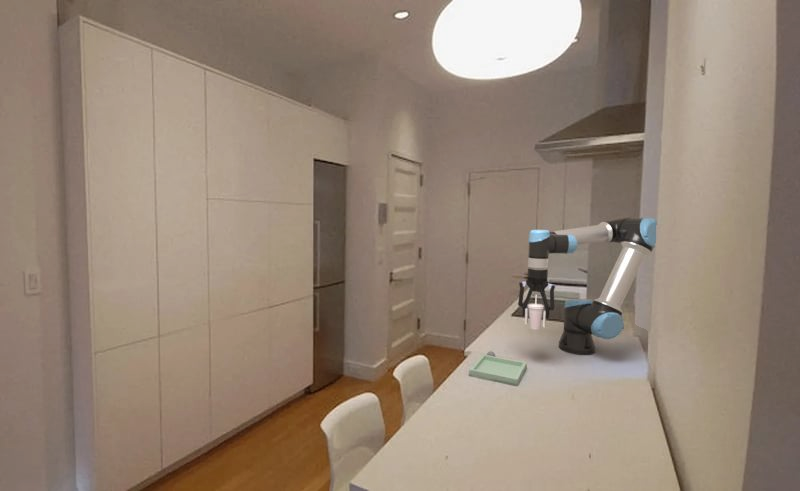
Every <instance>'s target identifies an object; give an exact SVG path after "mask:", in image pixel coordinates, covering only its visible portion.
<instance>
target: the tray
mask: <svg viewBox="0 0 800 491" xmlns="http://www.w3.org/2000/svg"><path fill="white" fill-rule="evenodd" d="M527 364H528V362H527V361H521V360H515V359H510V358H504V357H499V356H495V357H494V356H489V355H487V354H481V356H479V358H478V359H477V360H476V361H475V362H474V364H472V366H471V367H470V368H469V369H468V376H469V377H473V378H478V379H481V380H486V381H491V382H496V383H501V384H504V385H509V386H514V387H518V386H519V384H520V381H521V380H522V378H523V376H524V374H525V373H526V370H527V369H528V368H527V367H528V365H527Z"/></svg>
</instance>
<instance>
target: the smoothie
mask: <svg viewBox="0 0 800 491" xmlns="http://www.w3.org/2000/svg"><path fill="white" fill-rule="evenodd" d="M534 299H535V300H534V302H532V303H528V304H527V307H528V308H529V310H528V320H529V328H530V330H534V331H535V330H536V331H538V330H539V331H540V330H541V325H542V321H543V312H544V310H545V306H544V304H542V303H537V302H538V300H537V299H538V295H537V294H535V298H534Z"/></svg>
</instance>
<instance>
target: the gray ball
mask: <svg viewBox="0 0 800 491" xmlns="http://www.w3.org/2000/svg"><path fill="white" fill-rule="evenodd" d="M486 355H489V356H494V357H496V354H495V352H494V351H492V350H490V351H488V352H487V353H486Z"/></svg>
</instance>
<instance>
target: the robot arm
mask: <svg viewBox="0 0 800 491" xmlns="http://www.w3.org/2000/svg"><path fill="white" fill-rule="evenodd" d="M657 220H658V219H656V218H650V217H622V218H617V219H612V220H608V221H602V222H600V223H598V224H596V225H587V226H581V227H577V228H576V227H574V228H567V229H561V230H560V229H559V230H554V231H550V230H548V229H532V230H530V231H529V235H528V259H527V278H526V281H523V280H522V281H520V282H519V283H518V285H519V296H518V304H517V305H518V307H522V316H524V325H526V326H527V325H528V324H529V308H528V304H529V302H530V299H531V297H532V294H533V292H537V293H540V295H541V299H542V302H543V305H544V309H543V314H542V327H543V328H546V325H547V320H549V318H550V311H554V310H555V289H556V284H551V283H549V281H548V275H549V273H548V272H549V270H548V268H549V257H550V256H549V255H550V254H566V255H567V254H573V253H575V252H576V250H577V248H578V246H580V245H586V244H587V245H588V244H592V243H594V244H595V243H599V242H600V243H604V244H608V243H609V244H610V243H617V244H621V246H622V249H621V251H620V254H619V256H618V258H617V259H616V262H615V263H614V266H613V268H612V270H611V273H610V274H609V276H608V279H607V281H606V283H605V285H604V286H603V287H604V288H603V289H602V291H601V293H600V296H599V297H598V298H596V299H586V298H573V299H567V300H565V303H564V307H563V308H564V312H563V332H562V334H561V336H560V338H559V340H558V348H559V349H560V350H561V351H564V352H566V353H569V354H574V355H582V356H583V355H584V356H586V355H587V356H588V355H593V354H595V353H596V352H595V351H596V346H595V342H594V338H593V336H595V337H597V338H600V339H603V340H611V339H613V338H617V337H618V335H620V334H621V332H622V331H623V329H624V324H625V323H624V319H623V317H622V315H623V309H622V308H621V307H622V305H623V302H624V300H625V298H626V296H627V295H628V293H629V291H630V288H631V286H632V283H633V282H634V279H635V278H636V276H637V273H638V271H639V269H640V268H641V265H642V263H643V260H644V259H645V257H646V256H648V255H651V254H652V252H653V250H654V248H656V247H655V243H656V225H657ZM526 285H527V287H528V288H529V289H528V293H527V295H526V297H525V299H524V293H525V288H526ZM547 287H548V290H549V301H548V298H547V295H546V291H545V289H546V288H547ZM523 301H524V302H523ZM592 335H593V336H592Z"/></svg>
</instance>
